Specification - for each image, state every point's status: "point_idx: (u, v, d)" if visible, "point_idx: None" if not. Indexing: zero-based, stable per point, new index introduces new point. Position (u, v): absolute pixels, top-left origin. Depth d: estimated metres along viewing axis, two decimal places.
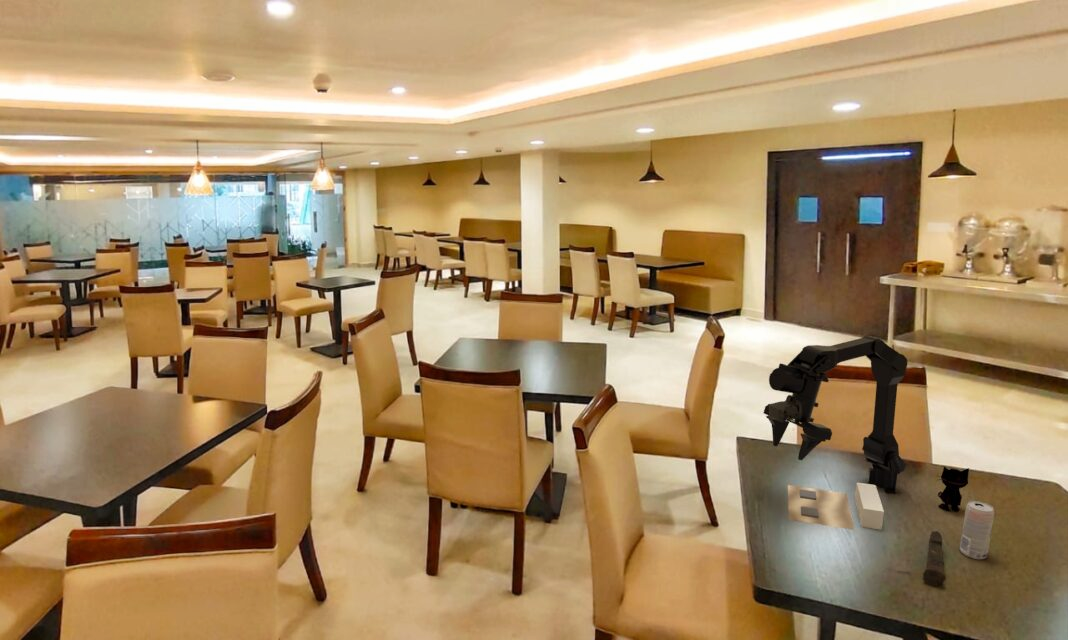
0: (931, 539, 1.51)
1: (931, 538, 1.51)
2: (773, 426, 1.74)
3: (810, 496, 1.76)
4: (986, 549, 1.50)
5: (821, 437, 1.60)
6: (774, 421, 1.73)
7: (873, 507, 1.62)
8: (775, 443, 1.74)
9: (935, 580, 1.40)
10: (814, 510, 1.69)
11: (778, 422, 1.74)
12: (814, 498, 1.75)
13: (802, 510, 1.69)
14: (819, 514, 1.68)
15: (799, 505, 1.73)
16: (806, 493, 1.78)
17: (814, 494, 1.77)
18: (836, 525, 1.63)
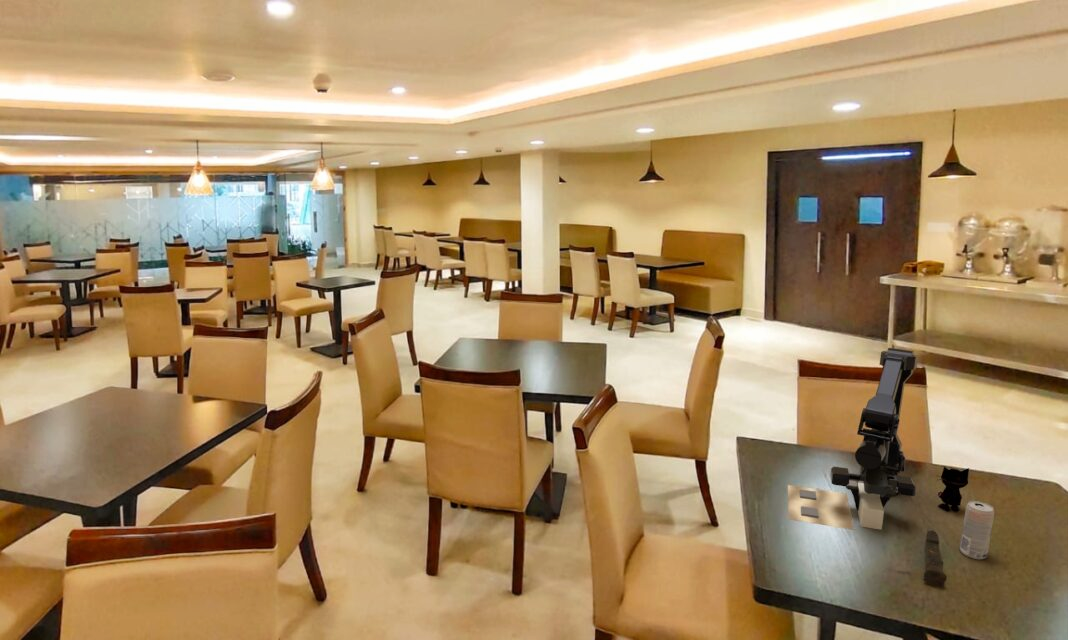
0: (928, 539, 1.51)
1: (928, 537, 1.52)
2: (855, 494, 1.67)
3: (810, 496, 1.76)
4: (986, 549, 1.50)
5: None
6: (858, 490, 1.66)
7: (873, 507, 1.62)
8: (858, 508, 1.69)
9: (936, 580, 1.40)
10: (814, 510, 1.69)
11: None
12: (814, 498, 1.75)
13: (802, 510, 1.69)
14: (819, 514, 1.68)
15: (799, 505, 1.73)
16: (806, 493, 1.78)
17: (814, 494, 1.77)
18: (836, 525, 1.63)
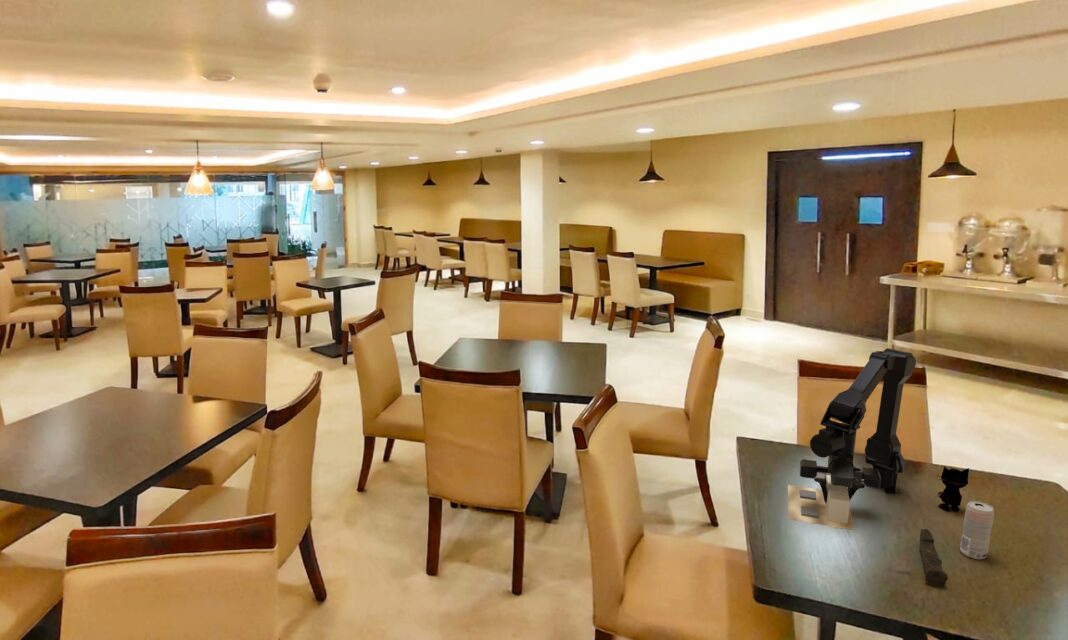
0: (923, 538, 1.52)
1: (923, 537, 1.52)
2: (823, 486, 1.70)
3: (810, 496, 1.76)
4: (986, 549, 1.50)
5: None
6: (826, 482, 1.68)
7: (840, 497, 1.64)
8: (826, 500, 1.71)
9: (937, 581, 1.40)
10: (814, 510, 1.69)
11: None
12: (814, 498, 1.75)
13: (802, 510, 1.69)
14: (819, 514, 1.68)
15: (799, 505, 1.73)
16: (806, 493, 1.78)
17: (814, 494, 1.77)
18: (836, 525, 1.63)
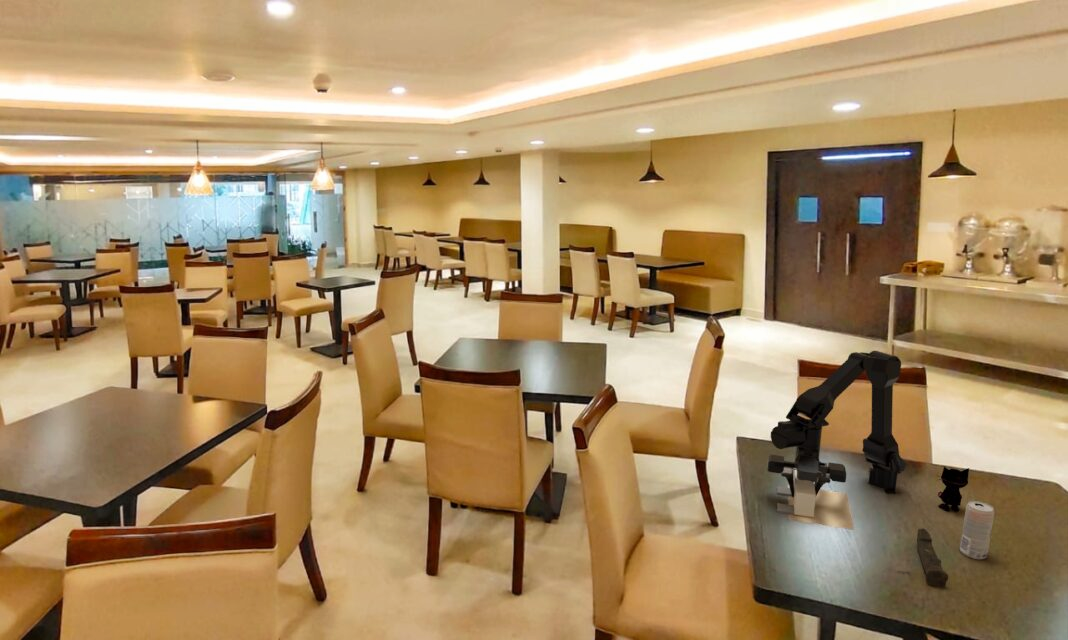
0: (921, 537, 1.52)
1: (921, 536, 1.52)
2: (790, 481, 1.72)
3: (787, 492, 1.78)
4: (986, 549, 1.50)
5: None
6: None
7: (806, 491, 1.67)
8: (793, 494, 1.74)
9: (938, 581, 1.40)
10: (790, 507, 1.70)
11: None
12: (791, 494, 1.77)
13: (778, 507, 1.70)
14: (819, 514, 1.68)
15: None
16: (783, 490, 1.80)
17: None
18: (836, 525, 1.63)
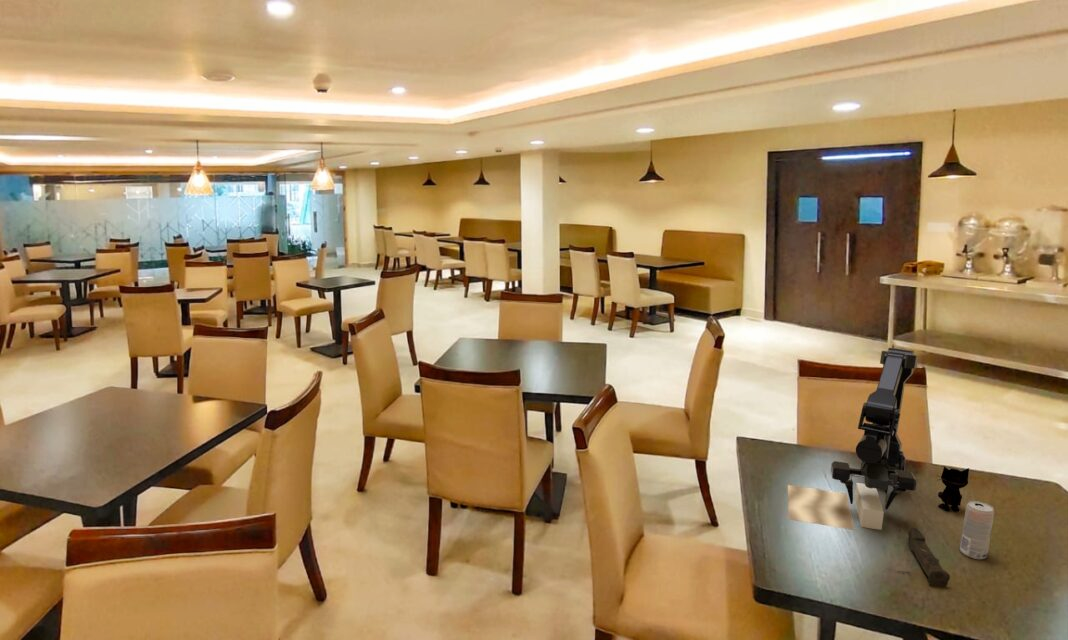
0: (915, 537, 1.52)
1: (914, 536, 1.52)
2: (849, 487, 1.67)
3: None
4: (986, 549, 1.50)
5: None
6: (852, 483, 1.66)
7: (873, 507, 1.62)
8: (852, 501, 1.69)
9: (940, 581, 1.40)
10: None
11: None
12: None
13: None
14: (819, 514, 1.68)
15: (799, 505, 1.73)
16: None
17: None
18: (836, 525, 1.63)
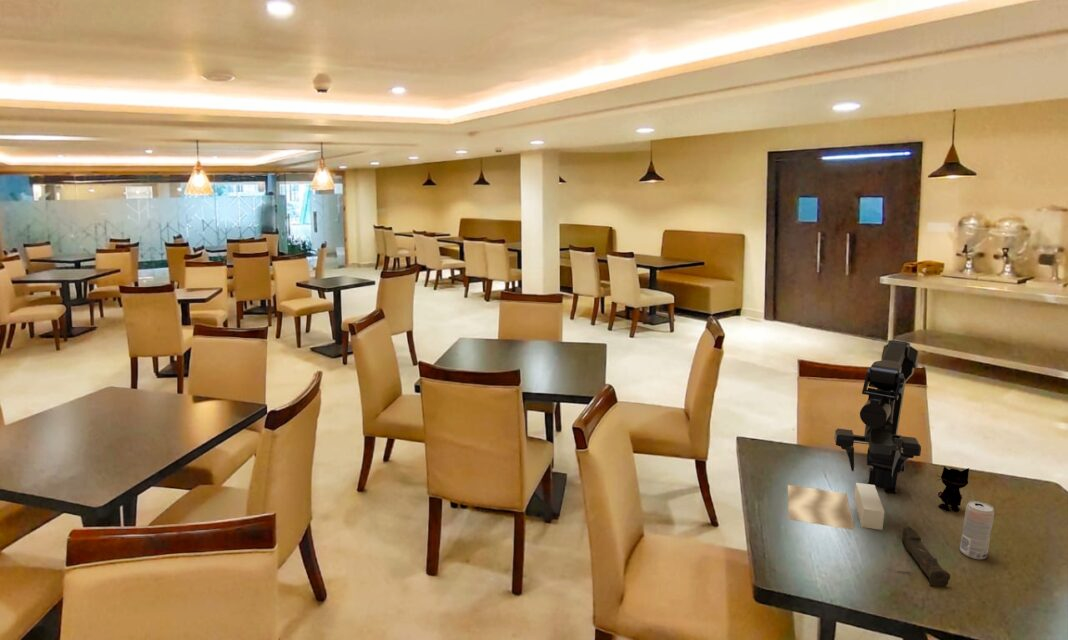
0: (911, 536, 1.52)
1: (910, 535, 1.52)
2: (850, 454, 1.66)
3: None
4: (986, 549, 1.50)
5: None
6: (853, 450, 1.65)
7: (874, 507, 1.62)
8: (853, 468, 1.67)
9: (941, 581, 1.40)
10: None
11: None
12: None
13: None
14: (819, 514, 1.68)
15: (799, 505, 1.73)
16: None
17: None
18: (836, 525, 1.63)
